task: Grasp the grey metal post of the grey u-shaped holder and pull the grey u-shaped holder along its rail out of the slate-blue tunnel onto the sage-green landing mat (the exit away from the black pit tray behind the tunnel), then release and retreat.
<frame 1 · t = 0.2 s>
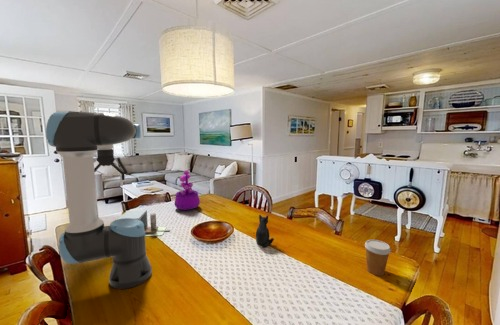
hand: (108, 186, 127), 28 cm above the table, fingers open, 13 cm apart
tunnel: (134, 232, 132), on the table
decorative plant: (187, 208, 175), on the table
landing mat: (155, 231, 134), resting in tunnel
pit: (116, 233, 131), resting in tunnel
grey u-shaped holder: (141, 223, 132), point 6 cm above the table, slide at 0.0 cm
disposable coffee cup: (375, 271, 96), on the table
figurine: (264, 244, 119), on the table
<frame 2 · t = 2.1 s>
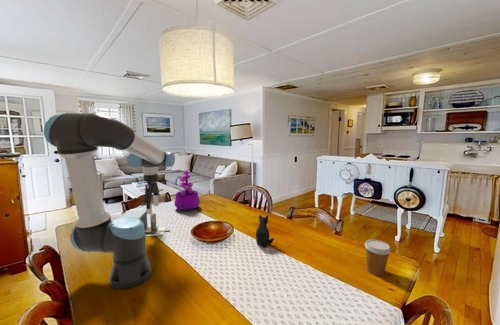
hand: (153, 209, 132), 13 cm above the table, fingers open, 13 cm apart
nothing on the table moved.
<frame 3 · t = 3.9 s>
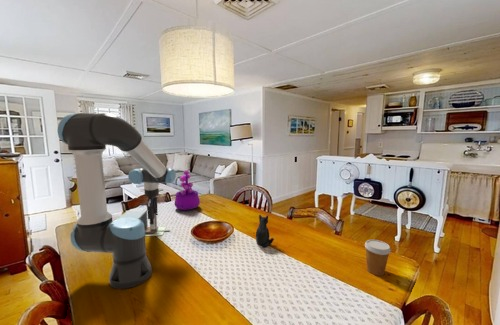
hand: (153, 227, 133), 3 cm above the table, fingers closed on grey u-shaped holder, 3 cm apart
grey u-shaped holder: (141, 223, 132), point 6 cm above the table, slide at 0.0 cm, touching gripper
everything else where it was.
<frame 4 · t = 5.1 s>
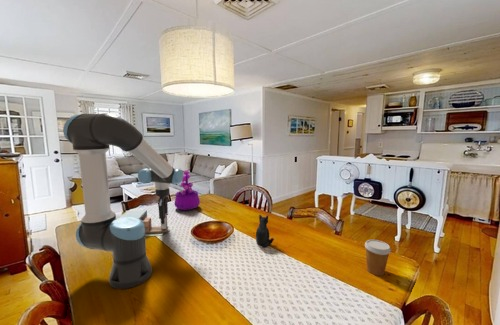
hand: (164, 227, 134), 3 cm above the table, fingers closed on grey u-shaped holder, 3 cm apart
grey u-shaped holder: (152, 222, 133), point 6 cm above the table, slide at 6.0 cm, touching gripper
everything else where it was.
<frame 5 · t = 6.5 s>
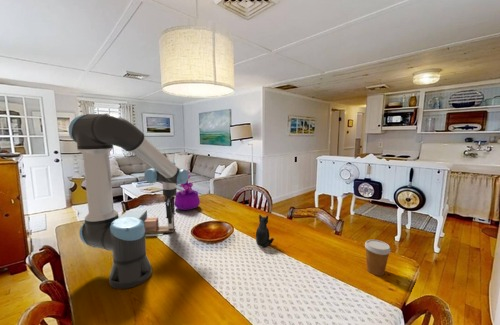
hand: (171, 226, 134), 3 cm above the table, fingers closed on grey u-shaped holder, 3 cm apart
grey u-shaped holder: (159, 222, 133), point 6 cm above the table, slide at 10.0 cm, touching gripper
everything else where it was.
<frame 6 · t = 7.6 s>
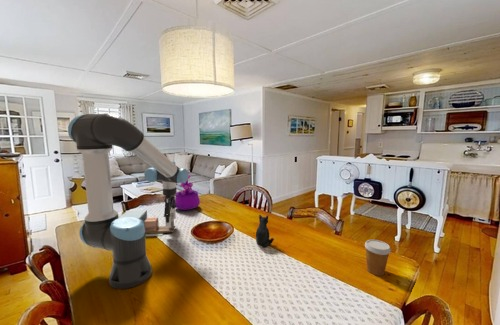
hand: (170, 223, 134), 5 cm above the table, fingers open, 13 cm apart
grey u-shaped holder: (159, 222, 133), point 6 cm above the table, slide at 10.0 cm
everything else where it was.
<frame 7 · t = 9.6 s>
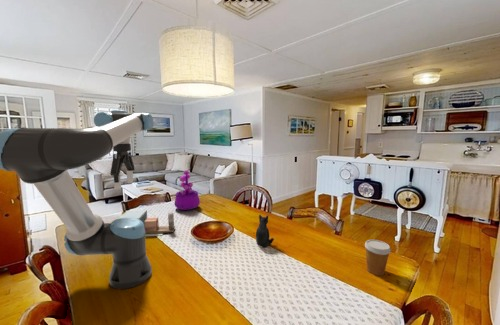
hand: (124, 185, 113), 31 cm above the table, fingers open, 13 cm apart
nothing on the table moved.
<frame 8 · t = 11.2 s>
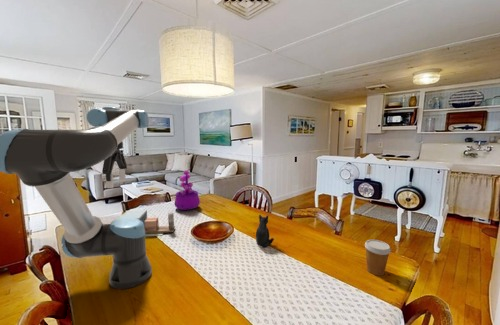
hand: (116, 184, 110), 33 cm above the table, fingers open, 13 cm apart
nothing on the table moved.
at the end: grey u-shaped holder slide at 10.0 cm; the gripper is holding nothing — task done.
